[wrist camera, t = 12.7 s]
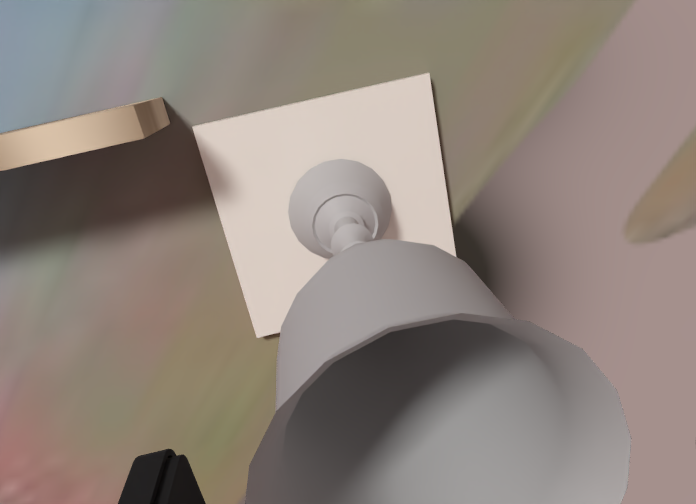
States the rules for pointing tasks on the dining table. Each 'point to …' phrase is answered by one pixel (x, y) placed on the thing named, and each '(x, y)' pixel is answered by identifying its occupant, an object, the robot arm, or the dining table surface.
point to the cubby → (81, 133)
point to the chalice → (423, 377)
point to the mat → (307, 152)
